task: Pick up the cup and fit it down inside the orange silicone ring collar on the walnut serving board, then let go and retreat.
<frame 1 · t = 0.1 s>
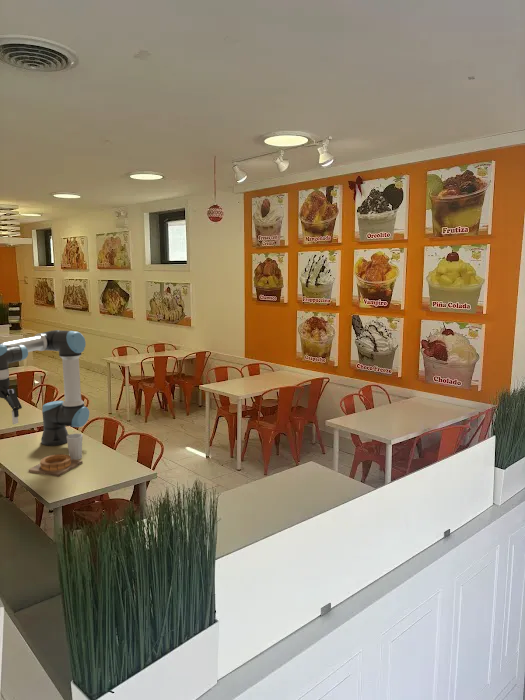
hand: (4, 422, 249), 28 cm above the table, fingers open, 13 cm apart
cup: (75, 458, 279), on the table
collar board: (56, 467, 267), on the table
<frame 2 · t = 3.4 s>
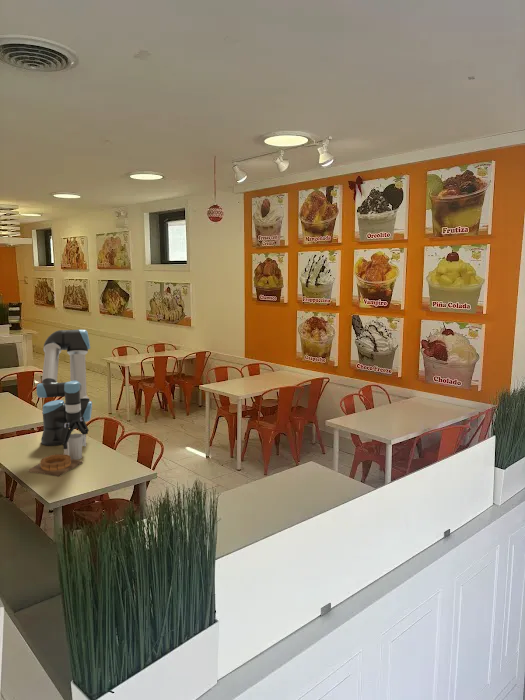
hand: (75, 450, 278), 4 cm above the table, fingers open, 13 cm apart
nothing on the table moved.
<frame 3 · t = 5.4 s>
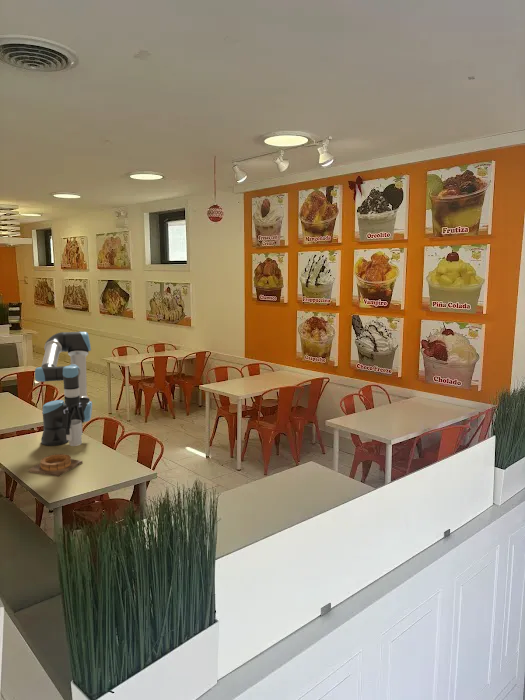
hand: (74, 437, 278), 11 cm above the table, fingers closed on cup, 8 cm apart
cup: (75, 443, 279), point 7 cm above the table, touching gripper
when the fingers open (5 cm above the table, at t = 9.3 s): cup stays where it is, resting on collar board.
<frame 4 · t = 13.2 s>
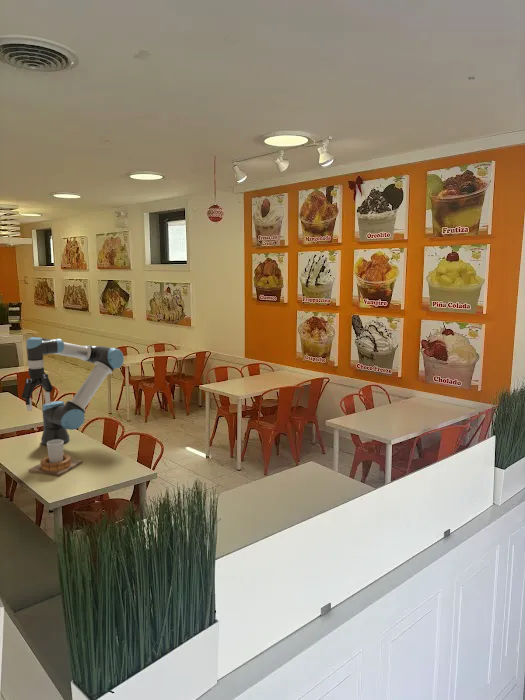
hand: (38, 407, 278), 27 cm above the table, fingers open, 13 cm apart
cup: (56, 465, 267), point 1 cm above the table, touching collar board
at the end: cup 0.4 cm from the collar board (horizontally); cup tilted 0°; cup point 1.0 cm above the table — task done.
